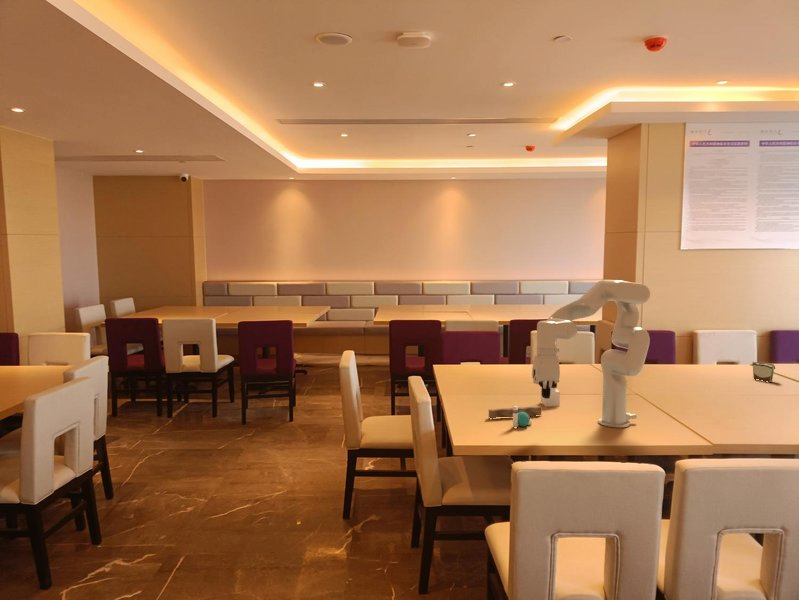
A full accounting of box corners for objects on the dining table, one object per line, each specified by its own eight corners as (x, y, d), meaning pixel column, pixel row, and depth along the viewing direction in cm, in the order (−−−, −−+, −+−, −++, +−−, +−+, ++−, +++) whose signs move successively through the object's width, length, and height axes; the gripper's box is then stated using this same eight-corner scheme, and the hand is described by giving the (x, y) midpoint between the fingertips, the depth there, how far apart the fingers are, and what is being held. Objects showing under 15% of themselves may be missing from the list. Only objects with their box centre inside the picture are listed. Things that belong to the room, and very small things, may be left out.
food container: (780, 382, 304) (780, 365, 303) (772, 383, 301) (773, 365, 300) (758, 378, 315) (759, 361, 314) (751, 379, 313) (751, 361, 312)
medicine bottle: (555, 402, 266) (555, 378, 265) (559, 406, 259) (560, 381, 258) (540, 402, 266) (540, 378, 265) (545, 406, 259) (545, 381, 258)
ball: (517, 410, 233) (526, 407, 228) (524, 422, 233) (534, 419, 228) (509, 418, 229) (519, 415, 225) (517, 430, 229) (527, 427, 224)
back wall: (539, 414, 245) (539, 406, 245) (541, 416, 243) (541, 407, 243) (488, 418, 240) (488, 409, 240) (490, 419, 238) (490, 410, 238)
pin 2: (533, 422, 230) (524, 416, 239) (529, 419, 229) (520, 413, 238) (530, 426, 230) (522, 420, 239) (526, 424, 229) (518, 417, 238)
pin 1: (516, 426, 228) (516, 405, 227) (518, 428, 226) (518, 407, 225) (511, 427, 228) (511, 406, 227) (513, 428, 226) (513, 407, 225)
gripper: (559, 349, 220) (558, 394, 222) (524, 351, 217) (524, 396, 219) (568, 352, 213) (567, 399, 214) (533, 354, 210) (532, 401, 211)
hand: (545, 397), depth 216 cm, fingers closed
